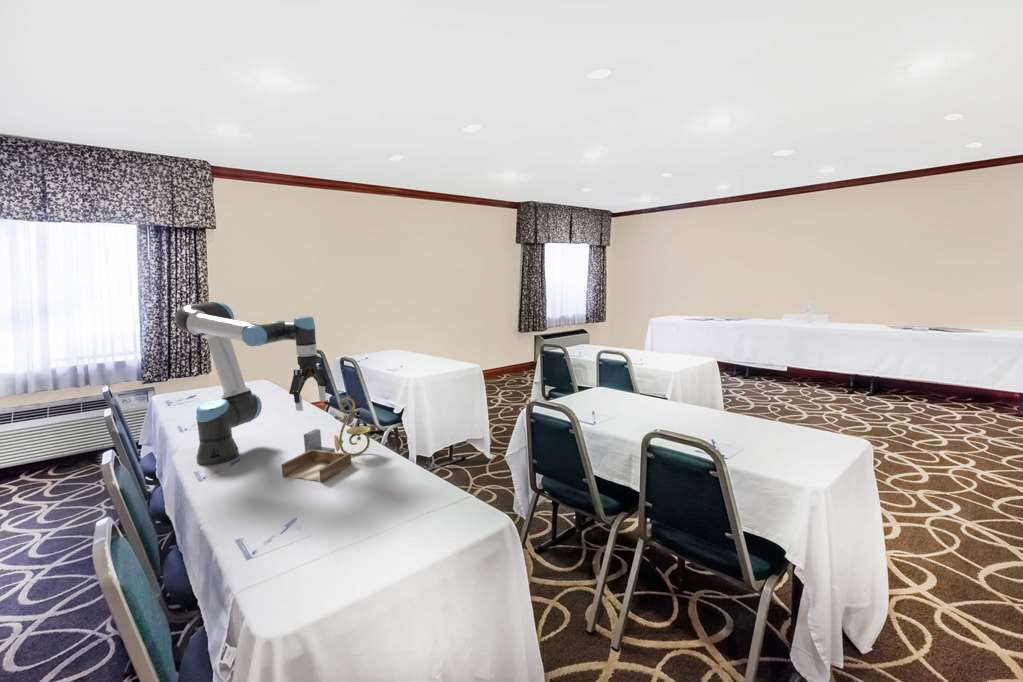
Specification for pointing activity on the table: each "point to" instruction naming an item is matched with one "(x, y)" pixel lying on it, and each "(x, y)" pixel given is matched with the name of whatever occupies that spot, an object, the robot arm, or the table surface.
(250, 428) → the table surface
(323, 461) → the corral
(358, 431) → the wall sconce
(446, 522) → the table surface
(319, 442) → the angle bracket
